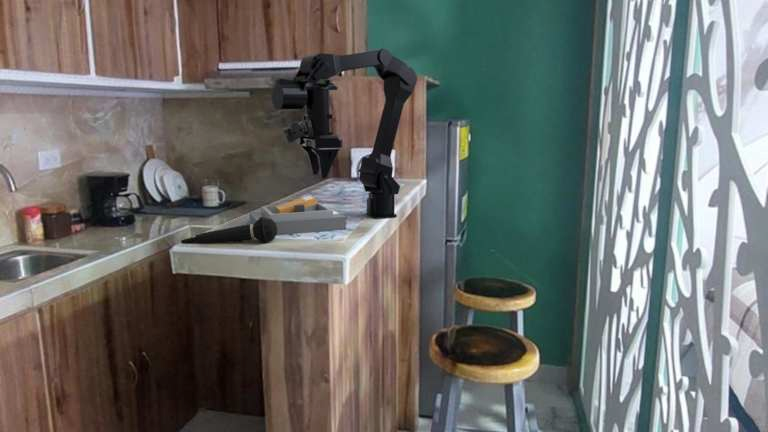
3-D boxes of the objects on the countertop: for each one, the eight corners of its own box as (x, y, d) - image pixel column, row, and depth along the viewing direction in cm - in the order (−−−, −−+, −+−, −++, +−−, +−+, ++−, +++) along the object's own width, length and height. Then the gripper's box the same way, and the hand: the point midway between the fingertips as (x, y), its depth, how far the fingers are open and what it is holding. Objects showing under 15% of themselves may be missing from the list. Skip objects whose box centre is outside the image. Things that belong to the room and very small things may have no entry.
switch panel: (328, 218, 135) (328, 196, 134) (345, 229, 122) (345, 205, 121) (250, 224, 127) (248, 200, 126) (259, 236, 115) (258, 210, 113)
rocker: (312, 200, 128) (310, 194, 127) (317, 203, 123) (315, 197, 123) (277, 212, 125) (275, 206, 124) (281, 215, 120) (279, 209, 120)
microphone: (182, 260, 108) (279, 246, 109) (174, 236, 105) (273, 222, 106) (188, 246, 112) (280, 233, 114) (180, 223, 110) (275, 210, 111)
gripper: (275, 110, 127) (278, 173, 130) (292, 110, 110) (294, 183, 113) (319, 110, 131) (321, 171, 134) (342, 109, 114) (343, 180, 117)
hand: (319, 176), depth 125 cm, fingers open, 8 cm apart
